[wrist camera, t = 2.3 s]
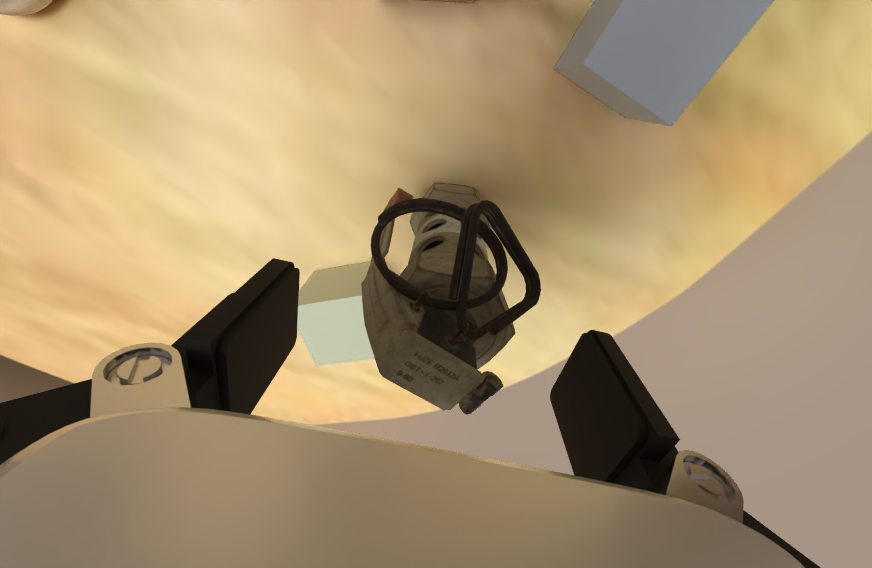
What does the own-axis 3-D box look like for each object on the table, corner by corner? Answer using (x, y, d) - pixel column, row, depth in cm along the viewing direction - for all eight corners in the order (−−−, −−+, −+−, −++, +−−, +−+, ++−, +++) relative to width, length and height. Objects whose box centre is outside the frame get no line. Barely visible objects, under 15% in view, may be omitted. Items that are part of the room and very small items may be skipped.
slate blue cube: (618, -40, 16) (677, -85, 12) (694, 21, 17) (774, -1, 13) (553, 68, 19) (582, 64, 14) (623, 117, 20) (671, 126, 15)
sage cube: (314, 270, 26) (286, 307, 21) (377, 259, 25) (361, 295, 21) (337, 323, 28) (316, 366, 24) (395, 314, 27) (384, 357, 23)
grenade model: (519, 184, 22) (615, 329, 9) (453, 262, 25) (451, 456, 12) (438, 118, 20) (409, 178, 7) (377, 210, 23) (279, 370, 10)
